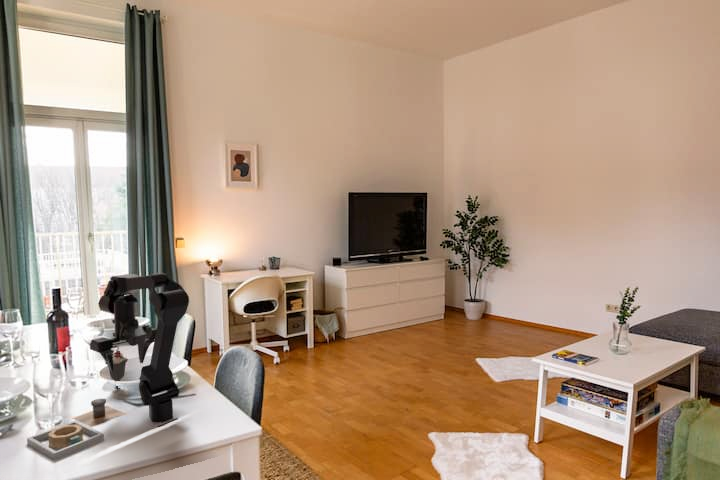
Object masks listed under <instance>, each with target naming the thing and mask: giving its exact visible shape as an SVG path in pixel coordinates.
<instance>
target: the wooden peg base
mask: <svg viewBox="0 0 720 480" xmlns="http://www.w3.org/2000/svg"><path fill="white" fill-rule="evenodd" d="M90 403H91V404H90V405H91V406H92V410H91V411H88V412H86V413H83V414H80V415H77V416H75V417H72V419H73V420H74V421H78V422H80V423H82V424H84V425H86V426H88V427H90V428H92V427H96V426H98V425H100V424H102V423H105V422H108V421H110V420H113V419H117V418H119V417H122V416H124V415H126V414H127V413H126V412H123V411H121V410H118V409H115V408H113V407H110V406H109V405H105V404H106V403H107V399H106V398H97V399H96V398H95V399H94V400H92V401H91V402H90Z"/></svg>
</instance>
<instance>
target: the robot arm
mask: <svg viewBox="0 0 720 480" xmlns="http://www.w3.org/2000/svg"><path fill="white" fill-rule="evenodd" d="M106 285H107V286H106V288H105V289H104V291H103V295H101V297H100V298H99V301H98V308H99V310H101V311H102V312H105V313H109V314H112V315H113V317H114V318H113V319H112V320H111V322H112V324H114V332H112V337H114V338H107V337H102V336H101V337H98V338H95V339H94V338H93V339H91V341H90V343H89V349H90V350H92V351H93V352H96V353H99V354H100V355H101V357H102V359H103V360H104V363H105V362H106V364H105V365H107V367H108V370H109V369H110V371H113V368H114V366H113V356H112V355H113V354H114V353H115V350H114V349H113V348H114V346H116V345H119V344H124V343H128V345H129V346H131V347H134V346H137V353H138V359H139V363H140V364H143V363H144V362H145V361H144V360H145V357H146V355H147V352H148V350H149V347H150V346H151V344H152V343H153V347H152V353H151V357H150V358H151V359H150V364H148V365H145V366H141V369H140V375H139V383H138V390H139V395H140V398H141V402H142V403H143V405H144V406H148V411H149V413H148V414H149V418H150V422H152V423H162V424H160V425H158V426H157V428H160V427H162V426H165V425H167V424H170V423H171V422H174V421H177V420H178V419H179V418H178V417H176V418H174V414H173V413H174V409H173V399H175V398H179V395H180V389H179V387H178V385H177V383H176V381H175V379H174V373H173V372H172V370H171V368H170V362H171V359H172V358H171V357H172V352H173V348H174V342H175V338H176V332H177V329H178V323H179V322H180V321H181V319H182V318H183V317H184V316H185V314H186V313H187V310H188V307H189V305H190V298H189V295H188V293H187V292H186V291H185V289H184V288H183V286H182V285H181V284H179V283H177V282H176V281H174V280H173V279H171V278H170V277H169V276H168V274H167V273H163V272H157V273H151V274H148V275H142V276H141V275H139V274H134V273H127V274H121V275H112V276H111V277H109V281H108V282H107V284H106ZM159 288H160V289H161V288H164V290H166V291H163V292H159V293H158V292H157V290H156V289H159ZM143 289H148V290H149V293H148V294H149V297H148V300H149V301H150V303H151V304H152V306H153V313H155V315H156V318H157V319H158V321H157V326H156V328H154V327H152V326H151V325H150V324H146V325H142V326H140V324H139V321H138V318H136V305H135V303H137V302H138V303H139V301H138V299H137V297H135V295H134V293H137V292H139V291H140V290H143Z"/></svg>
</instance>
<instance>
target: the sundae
mask: <svg viewBox="0 0 720 480" xmlns="http://www.w3.org/2000/svg"><path fill="white" fill-rule="evenodd" d="M119 349H120V347H119V346H118V347H117V349H116V352H115V351H114V352H113V355H112V356H113V366H114V368H113V371H110V369H109V368H108V371H109V376H110V379H112V380H114V381H115V382H116V381H120V382H121V380H122V379H123V378H124V377H125V371H126V363H127V362H128V361H129V359H128V358H127V357H125V356H124V355H123V353H122V352H121V351H120V350H119ZM104 363H105V365H107V364H106V362H105V361H104ZM114 389H115V390H118V386H116V385H115V387H114Z"/></svg>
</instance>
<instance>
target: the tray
mask: <svg viewBox="0 0 720 480" xmlns="http://www.w3.org/2000/svg"><path fill="white" fill-rule="evenodd" d="M75 424H76V425H79V426H81V427H82V430H83V434H86V435H88V436H91V437H88V438H86V439H84V440H83V439H82V440H81V441H80V442H78V443H75V444H73V445H70V446H68V447H65V448H59V449H58V450H56V449H55V450H54V449H53V448H52V447H50V446H49V445H48V446H47V444H44V443H42V442H41V441H43V440H46V439H48V434H49V433H50V432H51V431H52V430H53V429H56V428H59V427H62V426H65V425H75ZM104 435H105V434H104V433H103V432H101V431H99V430H97V429H94V428H92V427H90V426H88V425H86V424H84V423H82V422H79V421H77V420H73V421H70V422H68V423H65V424H63V425H60V426H57V427H54V428H51V429H49V430H46V431H43V432H40V433H38V434H34V435H32V436H29V437H27V438H26V443H27V445H28V446H30V447H31V448H34V449H35V450H37V451H38V452H40V453H42V454H44V455H45V456H48V457H49V458H50V459H52V460H54V461H55V460H57V459H60V458H62V457H65V456H68V455H70V454H72V453H74V452H77V451H80V450H83V449H84V448H88V447H90V446H92V445H94V444H96V443H99V442H102V441H104V440H105V437H104Z"/></svg>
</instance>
